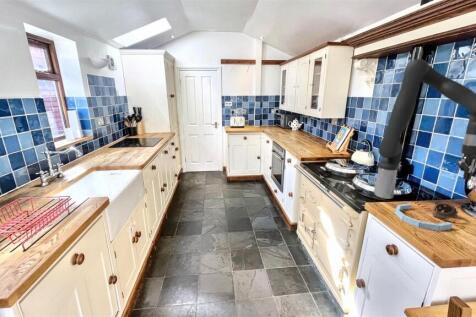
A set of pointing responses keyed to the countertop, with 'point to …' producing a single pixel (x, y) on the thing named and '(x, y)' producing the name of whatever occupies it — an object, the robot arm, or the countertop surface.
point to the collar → (419, 223)
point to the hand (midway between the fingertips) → (466, 179)
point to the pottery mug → (447, 208)
